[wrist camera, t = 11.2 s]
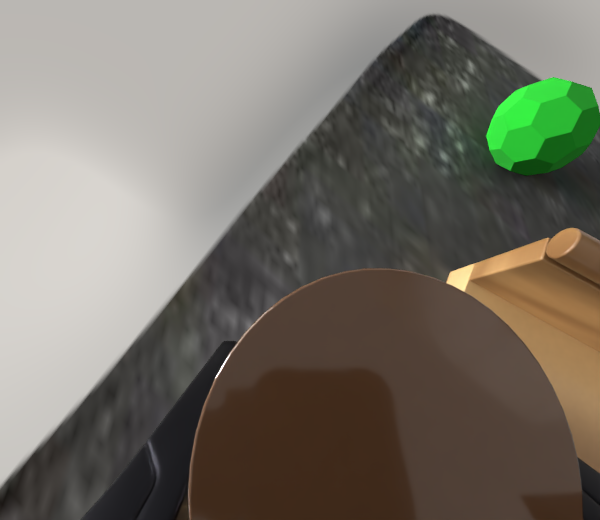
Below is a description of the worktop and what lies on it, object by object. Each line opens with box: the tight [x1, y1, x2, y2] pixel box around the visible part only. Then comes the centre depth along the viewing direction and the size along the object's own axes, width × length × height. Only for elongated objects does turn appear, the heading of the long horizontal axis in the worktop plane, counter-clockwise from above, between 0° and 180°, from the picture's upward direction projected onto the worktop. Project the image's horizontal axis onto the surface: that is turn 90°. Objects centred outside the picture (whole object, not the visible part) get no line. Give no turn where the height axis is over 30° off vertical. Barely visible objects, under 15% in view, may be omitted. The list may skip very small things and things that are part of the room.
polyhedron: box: [486, 77, 600, 176], centre depth 17 cm, size 5×5×5 cm
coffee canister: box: [188, 268, 584, 520], centre depth 9 cm, size 6×6×10 cm
